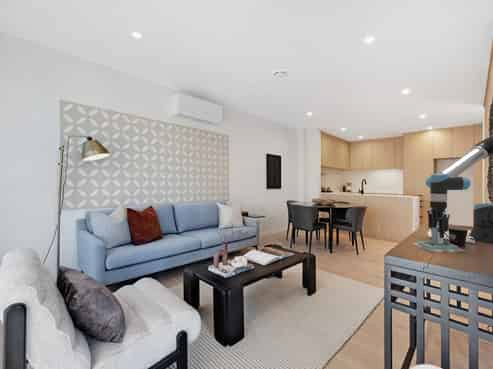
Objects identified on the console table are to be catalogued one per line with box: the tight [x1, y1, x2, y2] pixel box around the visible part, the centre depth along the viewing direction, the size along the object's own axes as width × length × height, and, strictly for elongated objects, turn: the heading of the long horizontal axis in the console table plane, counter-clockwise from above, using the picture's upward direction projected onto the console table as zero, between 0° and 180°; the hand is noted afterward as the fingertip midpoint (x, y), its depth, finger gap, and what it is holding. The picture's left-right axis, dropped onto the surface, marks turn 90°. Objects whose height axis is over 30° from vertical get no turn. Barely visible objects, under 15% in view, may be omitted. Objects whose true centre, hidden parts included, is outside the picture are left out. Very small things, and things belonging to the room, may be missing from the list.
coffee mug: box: [444, 226, 469, 248], centre depth 142 cm, size 12×9×10 cm
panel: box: [417, 226, 459, 249], centre depth 135 cm, size 15×10×10 cm, turn 89°
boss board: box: [412, 240, 465, 254], centre depth 135 cm, size 18×14×4 cm
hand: (437, 242), depth 135 cm, fingers closed on panel, 3 cm apart
